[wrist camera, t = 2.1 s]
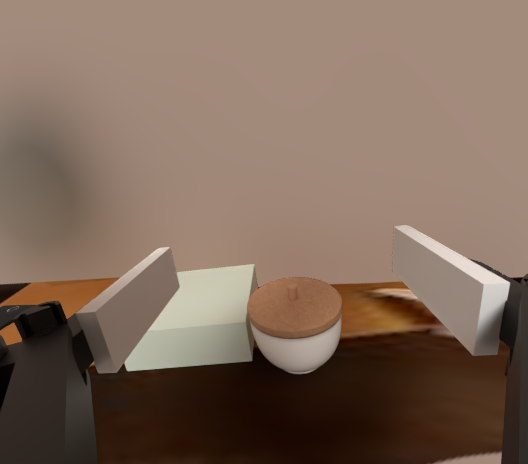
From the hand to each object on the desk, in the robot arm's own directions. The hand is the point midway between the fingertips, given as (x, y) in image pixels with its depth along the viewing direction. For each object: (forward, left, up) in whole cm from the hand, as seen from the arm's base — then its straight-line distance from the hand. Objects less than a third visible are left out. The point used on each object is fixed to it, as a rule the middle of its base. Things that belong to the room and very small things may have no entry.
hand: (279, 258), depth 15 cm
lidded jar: (0, -12, -18) cm, 21 cm away
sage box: (+14, -19, -18) cm, 29 cm away
